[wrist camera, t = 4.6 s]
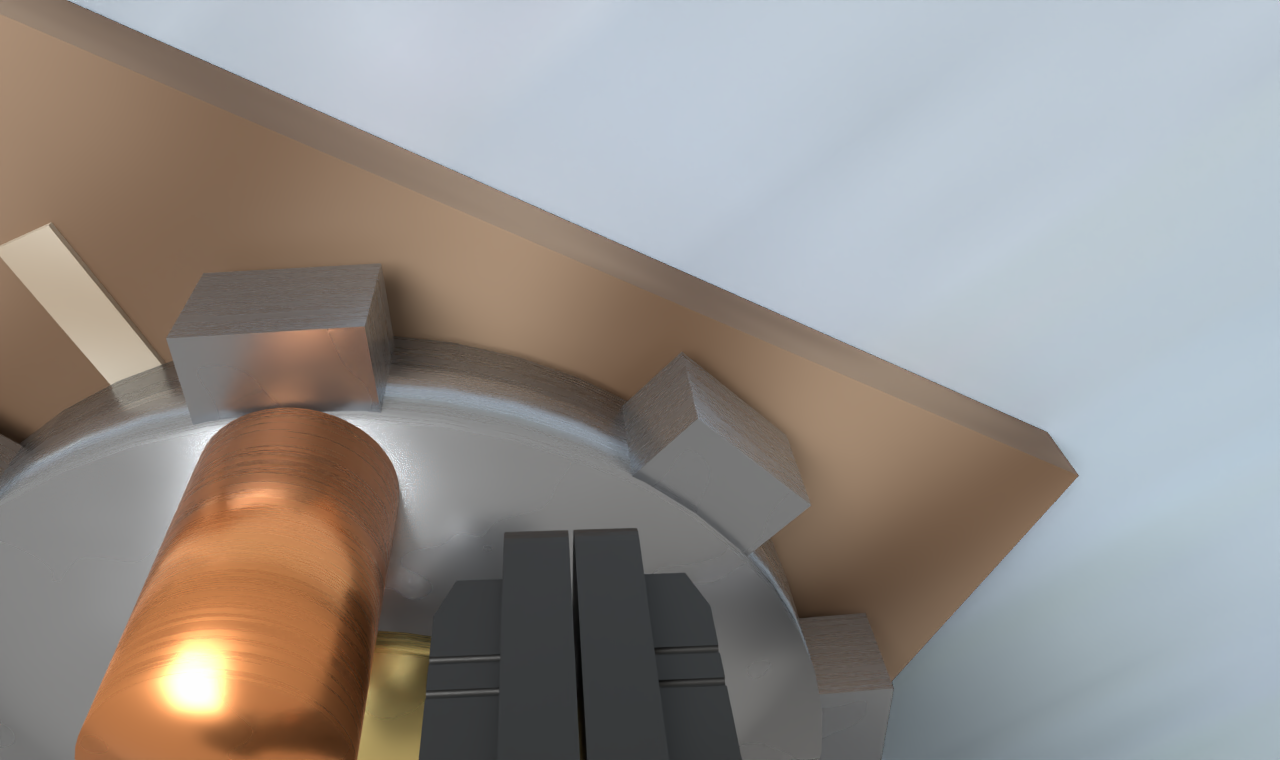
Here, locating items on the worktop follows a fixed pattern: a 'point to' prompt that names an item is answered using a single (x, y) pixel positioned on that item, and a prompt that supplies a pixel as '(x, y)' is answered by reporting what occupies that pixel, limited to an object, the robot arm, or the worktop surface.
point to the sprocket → (372, 535)
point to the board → (460, 302)
